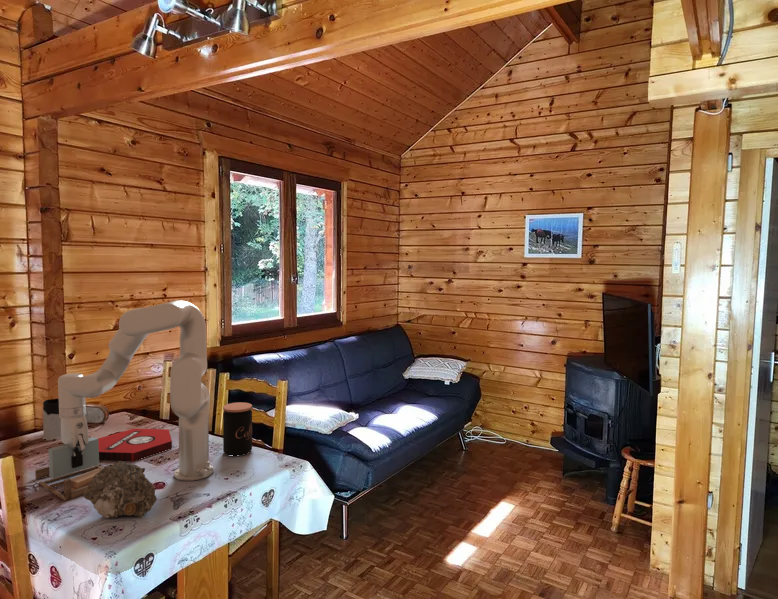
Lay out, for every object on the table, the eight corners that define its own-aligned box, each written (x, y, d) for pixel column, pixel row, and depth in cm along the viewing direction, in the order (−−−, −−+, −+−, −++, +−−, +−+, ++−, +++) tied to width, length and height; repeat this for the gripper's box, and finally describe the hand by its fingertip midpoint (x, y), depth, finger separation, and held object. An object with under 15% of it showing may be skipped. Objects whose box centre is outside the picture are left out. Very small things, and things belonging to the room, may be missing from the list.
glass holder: (43, 435, 210) (42, 399, 209) (83, 430, 217) (82, 395, 216) (40, 441, 202) (39, 404, 201) (82, 436, 209) (81, 400, 208)
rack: (124, 481, 167) (124, 463, 167) (64, 500, 152) (63, 481, 152) (90, 463, 181) (89, 446, 181) (32, 479, 167) (31, 462, 166)
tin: (109, 422, 227) (109, 404, 227) (104, 425, 224) (104, 406, 224) (79, 421, 229) (78, 402, 229) (74, 423, 226) (73, 404, 226)
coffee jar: (236, 459, 187) (236, 411, 186) (217, 453, 193) (217, 407, 192) (258, 450, 196) (258, 405, 195) (238, 445, 202) (238, 400, 201)
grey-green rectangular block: (99, 464, 173) (98, 438, 173) (53, 478, 162) (52, 450, 162) (95, 462, 175) (94, 437, 175) (49, 476, 164) (48, 448, 163)
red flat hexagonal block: (74, 460, 184) (155, 462, 184) (74, 451, 184) (155, 453, 183) (115, 436, 211) (186, 438, 210) (115, 428, 211) (186, 429, 210)
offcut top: (107, 477, 166) (107, 470, 166) (78, 489, 157) (77, 482, 157) (98, 474, 168) (98, 468, 168) (68, 486, 159) (68, 479, 159)
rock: (100, 465, 137) (132, 437, 152) (72, 497, 141) (106, 467, 155) (152, 508, 139) (180, 476, 154) (124, 539, 143) (153, 505, 157)
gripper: (96, 412, 166) (98, 467, 167) (74, 404, 175) (76, 456, 176) (71, 418, 160) (73, 475, 161) (49, 409, 169) (51, 463, 170)
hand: (74, 464), depth 169 cm, fingers closed on grey-green rectangular block, 3 cm apart
